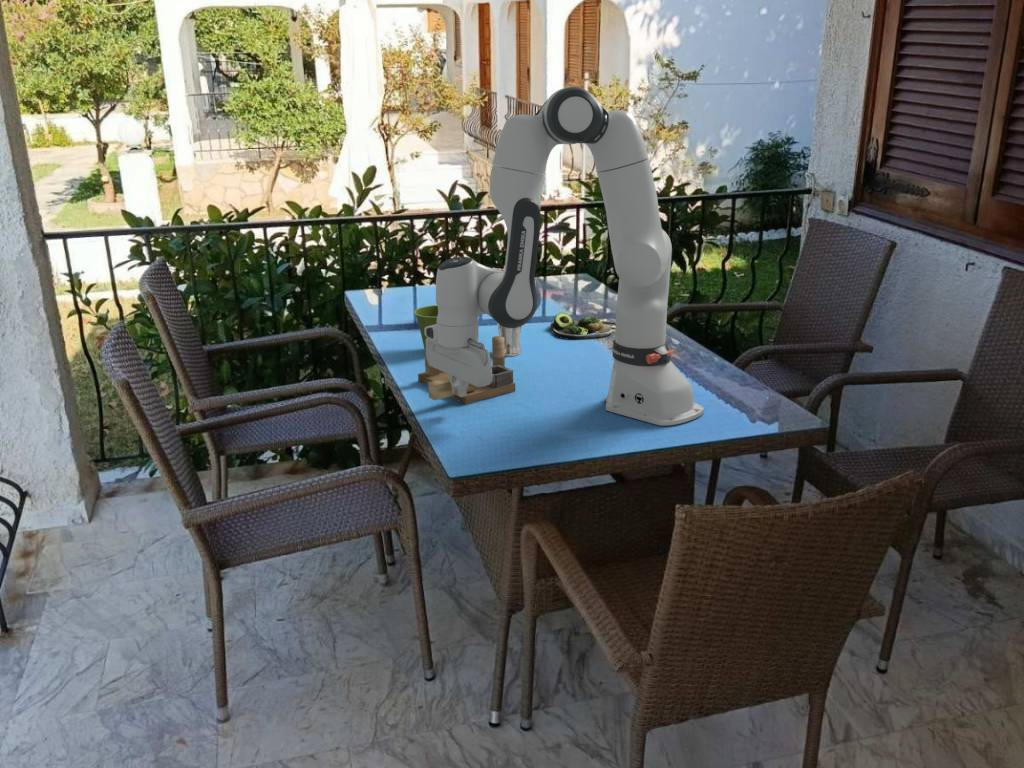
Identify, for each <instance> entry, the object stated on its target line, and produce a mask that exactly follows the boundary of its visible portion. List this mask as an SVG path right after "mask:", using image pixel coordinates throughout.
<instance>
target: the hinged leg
mask: <svg viewBox="0 0 1024 768" xmlns="http://www.w3.org/2000/svg"><path fill="white" fill-rule="evenodd" d="M427 387H428V398H429V399H431V400H433V401H438V400H441V399H446V398H451V397H450V396H454V395H455V394H453V393H452V385H451V383H450V380H449V378H445V379H441V380H437V381H433V382H429V383H428V386H427ZM474 390H475V386H474V385H472V384H470V383H469V385H468V387H467V388H466V391H467V392H470V391H474Z"/></svg>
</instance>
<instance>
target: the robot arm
mask: <svg viewBox="0 0 1024 768" xmlns="http://www.w3.org/2000/svg"><path fill="white" fill-rule="evenodd" d="M576 144H584V145H585V146H587V148H588V149H589V151H590V152H591V156H592V158H593V160H594V161H593V162H594V166H595V170H596V175H597V178H598V183H599V188H600V191H601V195H602V199H603V204H604V209H605V214H606V220H607V221H606V222H607V230H608V236H609V241H610V242H609V243H610V248H611V252H612V253H611V254H612V259H613V264H614V270H615V272H616V275H617V276H618V278H619V279H618V288H617V289H618V290H617V296H616V297H617V298H616V303H615V305H616V306H615V322H616V325H614V326H615V329H614V330H615V331H614V332H615V333H614V339H613V341H612V348H611V350H612V357H613V365H612V369H611V370H612V371H611V375H610V382H609V388H608V392H607V396H606V398H605V402H606V404H605V410H606V411H608V412H610V413H614V414H617V415H621V416H625V417H628V418H631V419H632V418H633V419H636V420H639V421H643V422H647V423H649V424H653V425H656V426H661V427H665V426H673V425H674V426H675V425H679V424H683V423H687V422H690V421H692V420H695V419H697V418H699V417H700V416H702V415H704V413H705V409H704V407H703V406H702V405H700V404H699V403H696V402H694V391H693V386H692V384H691V382H690V381H689V380H688V379H687V378H686V377H685V376H684V374H682V373H681V371H680V370H679V369H678V367H677V366H676V365H675V364H674V363H673V361H672V356H673V355H675V353H674V352H675V349H671V350H670V349H669V345H668V342H667V339H666V336H667V317H668V316H667V315H668V303H669V290H670V280H671V267H672V253H673V252H672V251H673V248H672V247H673V246H672V245H673V244H672V242H671V237H670V236H669V235H668V234H667V232H666V231H665V230H664V229H663V227H662V222H661V215H660V209H659V201H658V194H657V189H656V185H655V184H656V183H655V180H654V176H653V172H652V167H651V163H650V159H649V158H650V157H649V154H648V151H647V146H646V142H645V140H644V137H643V134H642V132H641V129H640V126H639V125H638V122H637V120H636V118H635V116H634V115H633V114H632V113H631V112H629V111H628V110H627V111H626V110H623V109H614V110H609V111H608V110H607V109H606V108H605V107H604V106H603V104H602V103H601V102H599V100H598V99H597V98H596V97H595V96H594V95H593V94H592V93H591V92H590V91H588V90H586V89H584V88H582V87H579V86H578V87H577V86H569V87H563V88H560V89H557V90H555V92H553V93H551V95H550V96H549V97H548V98H547V99H546V101H545V102H544V103H543V104H542V105H541V107H540V108H539V109H538V111H536V113H535V114H534V115H531V114H517V115H513V116H511V117H509V118H508V119H507V120H506V121H505V122H504V124H503V127H502V130H501V132H500V135H499V138H498V141H497V145H496V148H495V152H494V155H493V161H492V166H491V171H490V175H489V176H490V177H489V197H490V200H491V202H492V204H493V205H494V207H495V208H496V209H497V211H498V212H499V214H500V215H501V217H502V219H503V221H504V223H505V226H506V229H507V231H506V232H507V244H506V245H507V246H506V253H505V261H504V269H503V270H500V269H497V268H493V267H489V266H486V265H484V264H481V263H479V262H477V261H476V260H474V259H473V258H472V257H470V256H469V257H468V256H456V257H451V258H449V259H446V260H444V261H443V262H442V263H440V264H439V265H438V268H437V271H436V277H435V278H436V279H435V305H437V307H438V316H437V324H435V325H431V326H427V327H425V328H424V333H425V336H426V337H427V338H426V352H425V354H426V358H427V361H428V364H429V365H430V366H432V367H434V368H436V369H438V370H441V371H443V372H445V373H447V374H448V377H449V380H450V383H451V385H452V393H453V394H455V395H457V396H459V397H464V396H466V394H467V391H466V388H467V387H468V385H469V383H470V384H472V385H474V386H476V387H483V386H487V385H490V384H491V382H492V367H491V366H492V360H491V359H492V358H491V356H490V353H489V351H488V349H487V348H486V347H485V345H484V343H483V342H479V337H480V336H479V317H480V316H481V315H487V316H489V317H491V318H492V319H493V320H494V321H495V322H496V324H497V323H498V324H500V325H501V326H503V327H506V328H517V327H520V326H525V325H526V324H527V323H528V322H529V321H530V320H531V319H532V317H533V316H534V315H535V313H536V311H537V308H538V293H537V288H536V277H535V276H536V267H537V261H538V260H537V259H538V251H539V250H538V249H539V241H540V231H541V201H542V193H543V186H544V180H545V175H546V169H547V163H548V160H549V158H550V154H551V152H552V150H553V149H554V148H555V147H556V146H558V145H576Z"/></svg>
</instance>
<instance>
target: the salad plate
mask: <svg viewBox="0 0 1024 768" xmlns="http://www.w3.org/2000/svg"><path fill="white" fill-rule="evenodd" d="M597 317H598V316H594V317H593V316H591V317H590V316H588V315H587V316H586V317H582V318H581V319H579V318H573V317H572V316H571V315H570V314H568V313H565V312H558V313H557V314H556V315H555V316H554V320H553V321H552V322H551V323H550V329H551V332H552V331H553V332H552V333H553V335H554V334H555V335H554V336H556V337H557V336H558V338H560V337H562V338H561V339H564V338H568V340H583V338H588V339H596V337H598V338H603V337H607V336H609V335H610V334H612V333H613V332H614V331H613V329H612V328H611V327H613V326H616V321H614V322H613V321H606V320H602V319H603V318H602V317H601V318H599V319H598V318H597ZM596 331H599V332H598V333H597V332H596ZM589 332H591V333H597V334H590V333H589ZM600 332H601V333H600ZM587 333H588V334H587Z"/></svg>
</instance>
